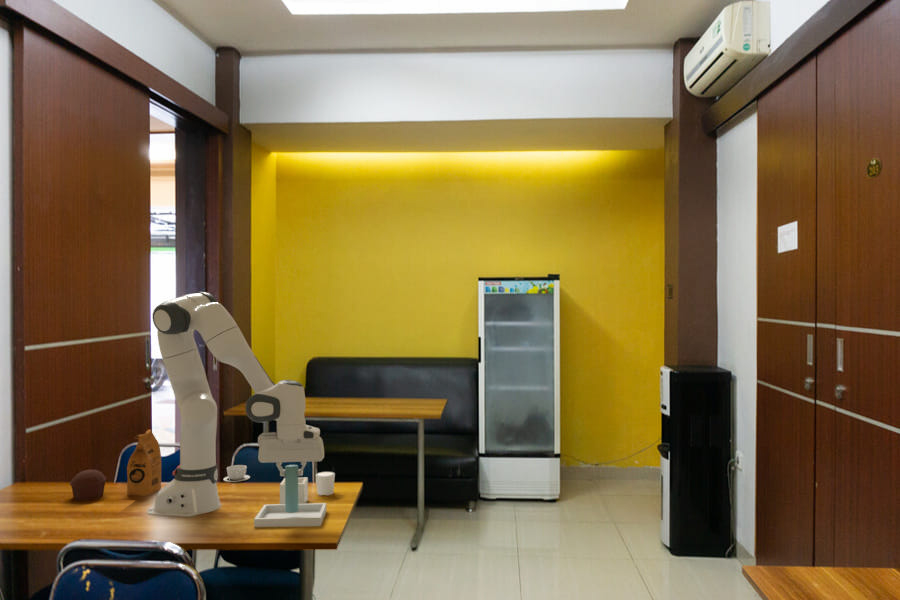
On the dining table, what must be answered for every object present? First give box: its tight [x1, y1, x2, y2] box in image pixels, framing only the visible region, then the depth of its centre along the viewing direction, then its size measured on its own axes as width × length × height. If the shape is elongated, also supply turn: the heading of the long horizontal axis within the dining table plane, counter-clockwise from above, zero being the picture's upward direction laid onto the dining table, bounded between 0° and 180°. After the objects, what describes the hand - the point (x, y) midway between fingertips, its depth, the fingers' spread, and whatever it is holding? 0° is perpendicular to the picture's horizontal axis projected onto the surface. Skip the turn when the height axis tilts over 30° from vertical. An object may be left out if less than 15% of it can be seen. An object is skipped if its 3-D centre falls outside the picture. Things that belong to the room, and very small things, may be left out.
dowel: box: [284, 464, 299, 513], centre depth 201 cm, size 4×4×14 cm
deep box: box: [279, 476, 309, 504], centre depth 216 cm, size 8×8×8 cm
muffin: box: [69, 469, 108, 501], centre depth 222 cm, size 12×11×10 cm
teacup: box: [223, 464, 251, 483], centre depth 248 cm, size 10×10×5 cm
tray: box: [253, 502, 327, 528], centre depth 201 cm, size 20×14×3 cm
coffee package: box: [126, 429, 162, 497], centre depth 230 cm, size 10×12×22 cm
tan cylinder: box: [315, 471, 336, 496], centre depth 229 cm, size 7×7×7 cm
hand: (291, 475), depth 201 cm, fingers closed on dowel, 4 cm apart
